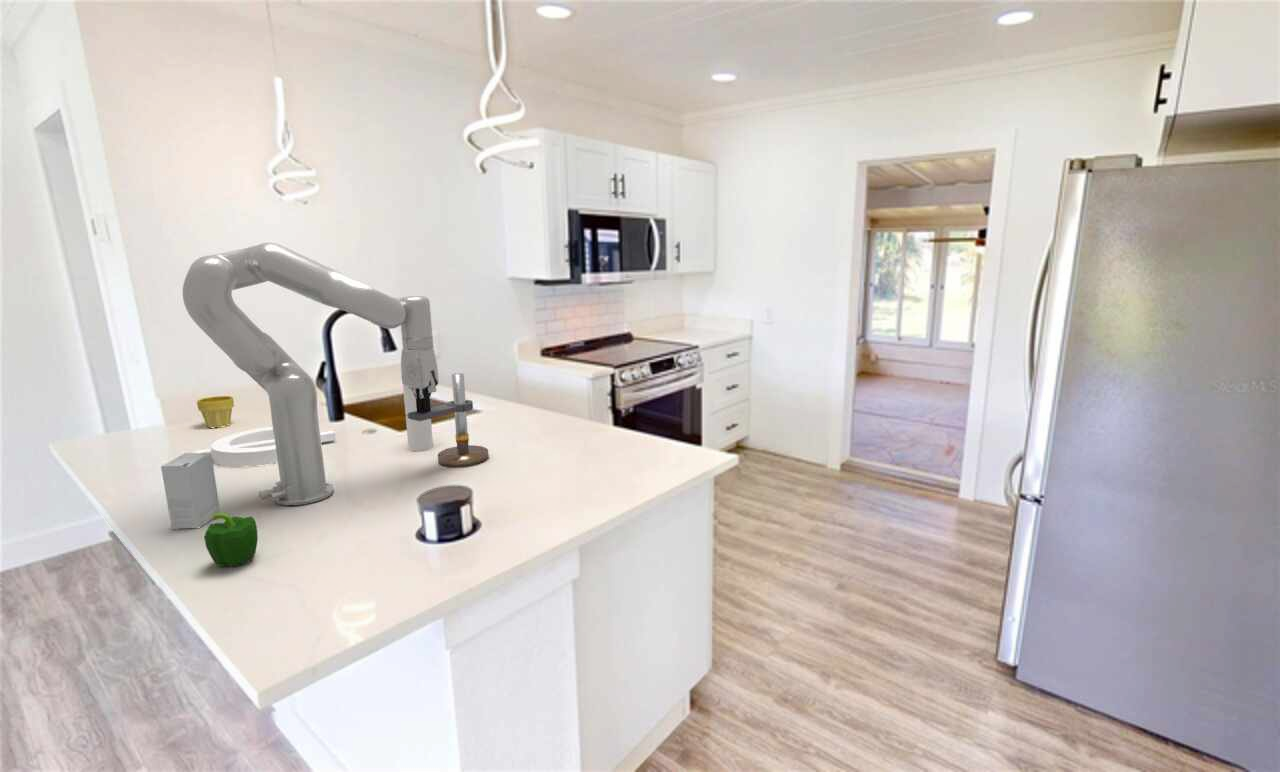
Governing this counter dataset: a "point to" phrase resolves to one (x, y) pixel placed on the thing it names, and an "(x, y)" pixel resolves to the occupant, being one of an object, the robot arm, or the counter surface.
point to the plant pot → (216, 410)
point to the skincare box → (190, 490)
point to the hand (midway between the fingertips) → (423, 411)
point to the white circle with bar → (250, 448)
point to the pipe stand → (461, 435)
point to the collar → (441, 410)
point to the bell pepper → (231, 540)
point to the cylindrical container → (416, 425)
